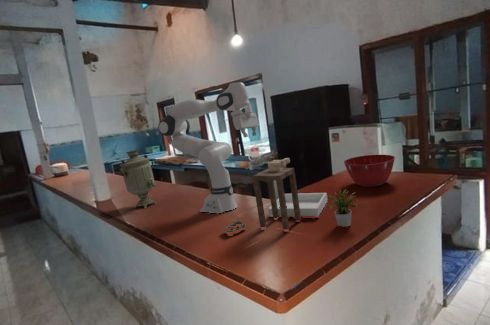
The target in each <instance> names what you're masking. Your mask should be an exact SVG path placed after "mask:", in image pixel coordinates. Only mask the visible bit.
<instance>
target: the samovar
mask: <svg viewBox="0 0 490 325" xmlns="http://www.w3.org/2000/svg"><path fill="white" fill-rule="evenodd" d="M139 151H140V149H134V150H130V151H126V152H125V153H126V154H127V156H128V157H129V158H128V159H127V160H126V161H125V160H124V159H123V160H121V161H120V162H121V164H119V166H120V168H115V169H114V172H117V174H118V175H119V176H121V177H122V178H123V180H124V184H125V188H126V191H127V192H128V193H129V194H132V195H134V196H137V198H139V201H138V202H137V204H136V205H135V206H134V209H136V208H138V207H143V209H144V210H145V209H147V208H148V205H151V204H152V203H153V204H157V203H158V202H157V201H155V200H153V199H151V197H148V196H149V192H151V191H152V190H153V188H156V182H155V178H154V172H153V169H152V168H153V166H154V162H155V161H156V158H150V157H147V155H148V154H147V155H146V154H144V155H143V157H142V156H139ZM150 163H151V164H150Z"/></svg>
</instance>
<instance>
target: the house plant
mask: <svg viewBox="0 0 490 325" xmlns="http://www.w3.org/2000/svg"><path fill="white" fill-rule="evenodd" d="M349 191H350V190H347V188H345V189H344V190H343V192H342V188H339V195H338V193H337V192H335V191H334V193H332V192H331V194H332V195H333V194H334V195H335V197H336V198H335V197H334V196H332V195H327V196H324V197H327V198H330V199H331V202H332V203H333V204H335V205H329V206H328V209H329V210H331V209H336V210H335V211H334V216H335V219H336V223H337V226H338V225H339V226H350V225H352V210H351V209H349V208H352V207H353V208H357V206H358V203H356V202H357V199H353V198H357V197H356V196H353V195H354V194H355V193H357V192H353V193H351V194H350V195H349V196H348V197H347V199H346V196H347V194H348V193H349ZM355 201H356V202H355ZM353 202H354V203H353ZM339 226H338V227H339ZM350 227H351V226H350Z"/></svg>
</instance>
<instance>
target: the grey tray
mask: <svg viewBox="0 0 490 325" xmlns="http://www.w3.org/2000/svg"><path fill="white" fill-rule="evenodd" d="M284 194H285V201H286V206H287V215H288V216H295V214H294V207H293V200H292V193H284ZM324 196H327V197H324ZM298 200H299V208H300V215H301V216H314V217H319V215H320V213H321V212H322V210H323V208H324V207H325V208H326V206H327V204H328V203H329V202H328V201H329V199H328V193H327V192H311V193H310V192H309V193H303V192H302V193H301V192H299V193H298ZM276 202H277V208H278V215H279V216H280V215H281V210H280V208H279V207H280V204H279V197H278V198H276ZM326 203H327V204H326ZM325 205H326V206H325ZM325 208H324V209H325ZM323 211H324V210H323ZM322 213H323V212H322ZM322 213H321V214H322ZM269 215H273V213H272V206H271V205H270V206H269V207H268V216H269ZM320 216H321V215H320ZM319 218H320V217H319Z"/></svg>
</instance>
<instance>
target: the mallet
mask: <svg viewBox="0 0 490 325" xmlns="http://www.w3.org/2000/svg"><path fill="white" fill-rule="evenodd" d="M290 163H291V159H290V157H285V158H283V159H274V160H271V161H269V162H267V169H269V171H282V170H284V169H286V168H287V164H290Z"/></svg>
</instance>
